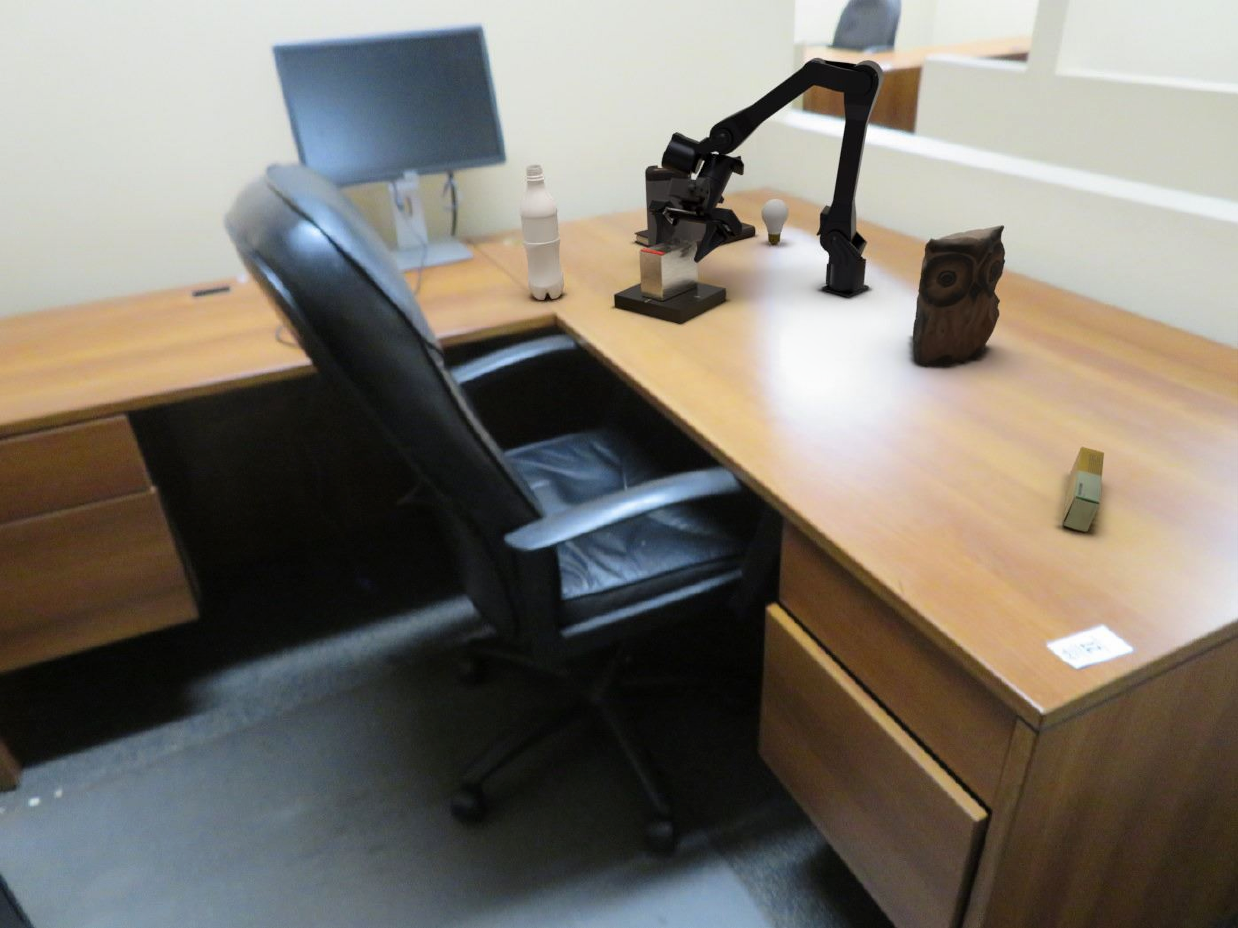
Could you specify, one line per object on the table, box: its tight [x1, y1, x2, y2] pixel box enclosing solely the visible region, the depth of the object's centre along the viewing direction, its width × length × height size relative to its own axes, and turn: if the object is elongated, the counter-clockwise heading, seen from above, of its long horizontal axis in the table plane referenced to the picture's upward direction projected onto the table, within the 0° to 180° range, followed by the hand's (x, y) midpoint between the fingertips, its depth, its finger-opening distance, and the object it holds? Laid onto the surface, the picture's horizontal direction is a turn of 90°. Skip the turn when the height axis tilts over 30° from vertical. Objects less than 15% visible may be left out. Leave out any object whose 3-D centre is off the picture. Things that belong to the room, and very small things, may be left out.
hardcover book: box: [634, 221, 757, 249], centre depth 198 cm, size 16×23×2 cm
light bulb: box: [760, 198, 790, 246], centre depth 188 cm, size 6×6×10 cm
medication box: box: [1061, 446, 1105, 533], centre depth 97 cm, size 12×3×4 cm, turn 152°
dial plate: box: [613, 282, 727, 325], centre depth 162 cm, size 16×14×3 cm
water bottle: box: [519, 164, 565, 301], centre depth 164 cm, size 7×7×25 cm
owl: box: [912, 224, 1006, 368], centre depth 130 cm, size 13×13×20 cm
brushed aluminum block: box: [638, 238, 699, 301], centre depth 159 cm, size 10×5×9 cm, turn 136°
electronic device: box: [644, 164, 693, 248], centre depth 179 cm, size 9×6×20 cm, turn 84°
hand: (675, 257), depth 159 cm, fingers open, 9 cm apart
